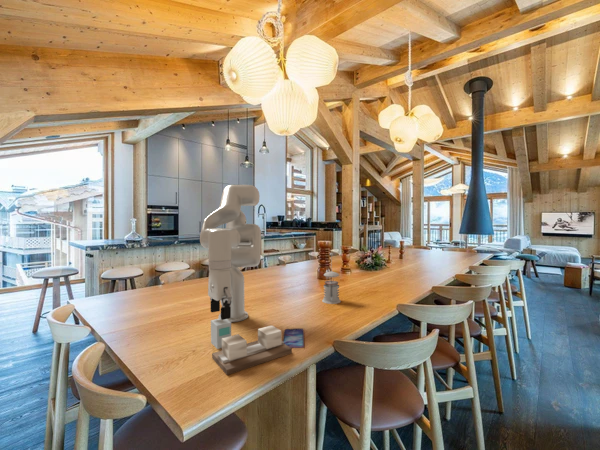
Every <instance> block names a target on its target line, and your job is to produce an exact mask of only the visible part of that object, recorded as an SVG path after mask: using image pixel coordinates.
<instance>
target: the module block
mask: <svg viewBox="0 0 600 450" xmlns="http://www.w3.org/2000/svg"><path fill="white" fill-rule="evenodd" d="M229 336H232V322H230V321H229V320H227V319H224V320H222V319H221V318H220V319H219V318H215V319H211V320H210V344H211V345H213V346H214V347H215V349H217V350H219V349H222V338H225V337H229Z"/></svg>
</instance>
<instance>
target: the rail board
mask: <svg viewBox="0 0 600 450" xmlns="http://www.w3.org/2000/svg"><path fill="white" fill-rule="evenodd" d="M282 339H283V338H282V330H281V329H279V328H277V327H276V326H274V325H273V324H272V325H268V326H264V327H260V328H258V329H257V340H254V341H251V342H248V341H247V340H246V339H245V338H243V336H241V335H240V334H239V333H238V334H237V333H236V334H234V335H231V336H229V337H225V338H222V348H221V350H220V351H219V350H218V351H216V352H213V353H211V359H212V360H213V361H214V362H215V363H216V364H217V365H218V367H219V368H220V369H221V371H223V372H224V374H225V375H226V376H228V375H232V374H235V373H238V372H241V371H243V370H246V369H249V368H252V367H255V366H257V365H261V364H263V363H267V362H270V361H273V360H275V359H278V358H281V357H285V356H287V355H290V354H292V353H293V350H292V348H290V347H289V346H287V345H286V344H284V342H283V340H282ZM247 342H248V343H247Z"/></svg>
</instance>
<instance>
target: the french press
mask: <svg viewBox="0 0 600 450" xmlns="http://www.w3.org/2000/svg"><path fill="white" fill-rule="evenodd" d="M329 256H330V257H331V259H330V261H331V263H330V265H331V266H330V267H331V270H330V271H327V272H324V274H323V276H324V277H327V278H330V280H326V281H324V284H323V295H324V296H323V299H322V300H321V302H322V303H325V304H330V305H333V304H334V305H336V304H340V303H341V299H340V289H339V288H340V285H339V281H337V280H333V279H332V278H336V277H337V278H338V277H339V276H340V274H339V273H338V272H335V271H333V264H332V263H333V259H332V258H333V256H334V253H333V252H330V253H329Z"/></svg>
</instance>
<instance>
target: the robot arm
mask: <svg viewBox="0 0 600 450" xmlns="http://www.w3.org/2000/svg"><path fill="white" fill-rule="evenodd" d="M220 197H221V198H220V203H219V206H218V208H217V209H216V210H214V211H212V213H210V214H209V215H208V216H207V217H205V218H204V221H203V223H202V225H201V230H200V234H199V243H200V246H202V247H203V248H204V249H207V250H208V286H207V287H208V288H207V296H208V297H209V299H210V312H211V313H216V312H220V313H219V315H218V317H217V318H218V319H220V318H221V319H222V320H224V319H227V320H229V321H230V322H231V323H237V322H238V323H239V322H241V321H245V320H246V319H247V318H249V312H248V311H246V309H245V276H244V274H243V272H242V270H240V268H250V267H253V268H254V267H257V266H259V265H260V263H261V254H262V231H261V227H260V226H259V225H258V224H256V223H246V220H247V217H246V215H245V213H244V211H242V210H241V209H242V207H249V206H257V205H259V202H260V192H259V190H258V188H257V187H256V186H254V185H252V184H229V185H227V186H225V187H223V191H222V194H221V196H220ZM225 224H226V227H225V228H224V227H221V228H220V227H219V226H223V225H225Z"/></svg>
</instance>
